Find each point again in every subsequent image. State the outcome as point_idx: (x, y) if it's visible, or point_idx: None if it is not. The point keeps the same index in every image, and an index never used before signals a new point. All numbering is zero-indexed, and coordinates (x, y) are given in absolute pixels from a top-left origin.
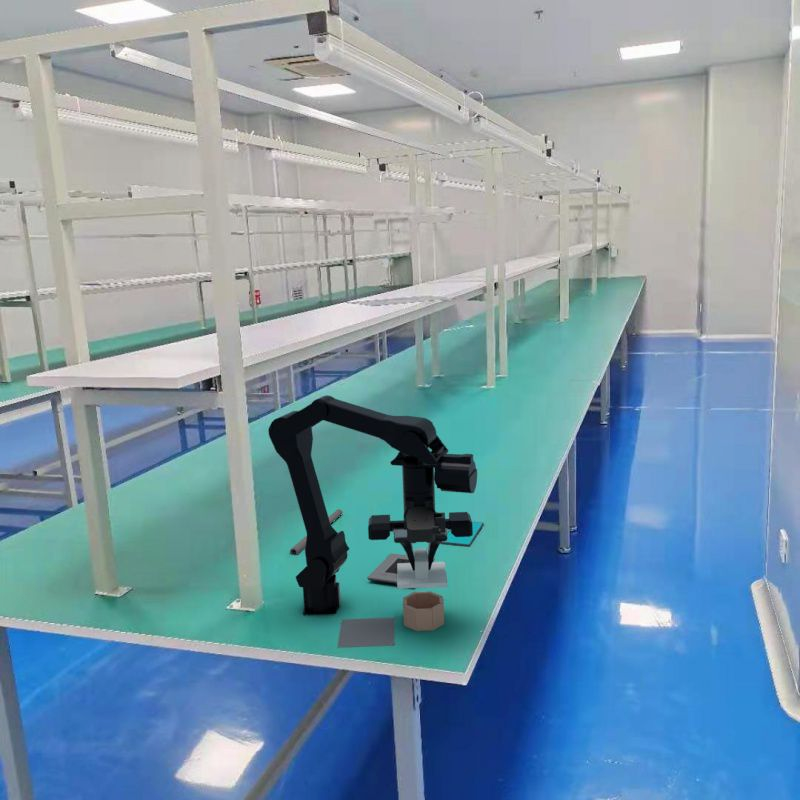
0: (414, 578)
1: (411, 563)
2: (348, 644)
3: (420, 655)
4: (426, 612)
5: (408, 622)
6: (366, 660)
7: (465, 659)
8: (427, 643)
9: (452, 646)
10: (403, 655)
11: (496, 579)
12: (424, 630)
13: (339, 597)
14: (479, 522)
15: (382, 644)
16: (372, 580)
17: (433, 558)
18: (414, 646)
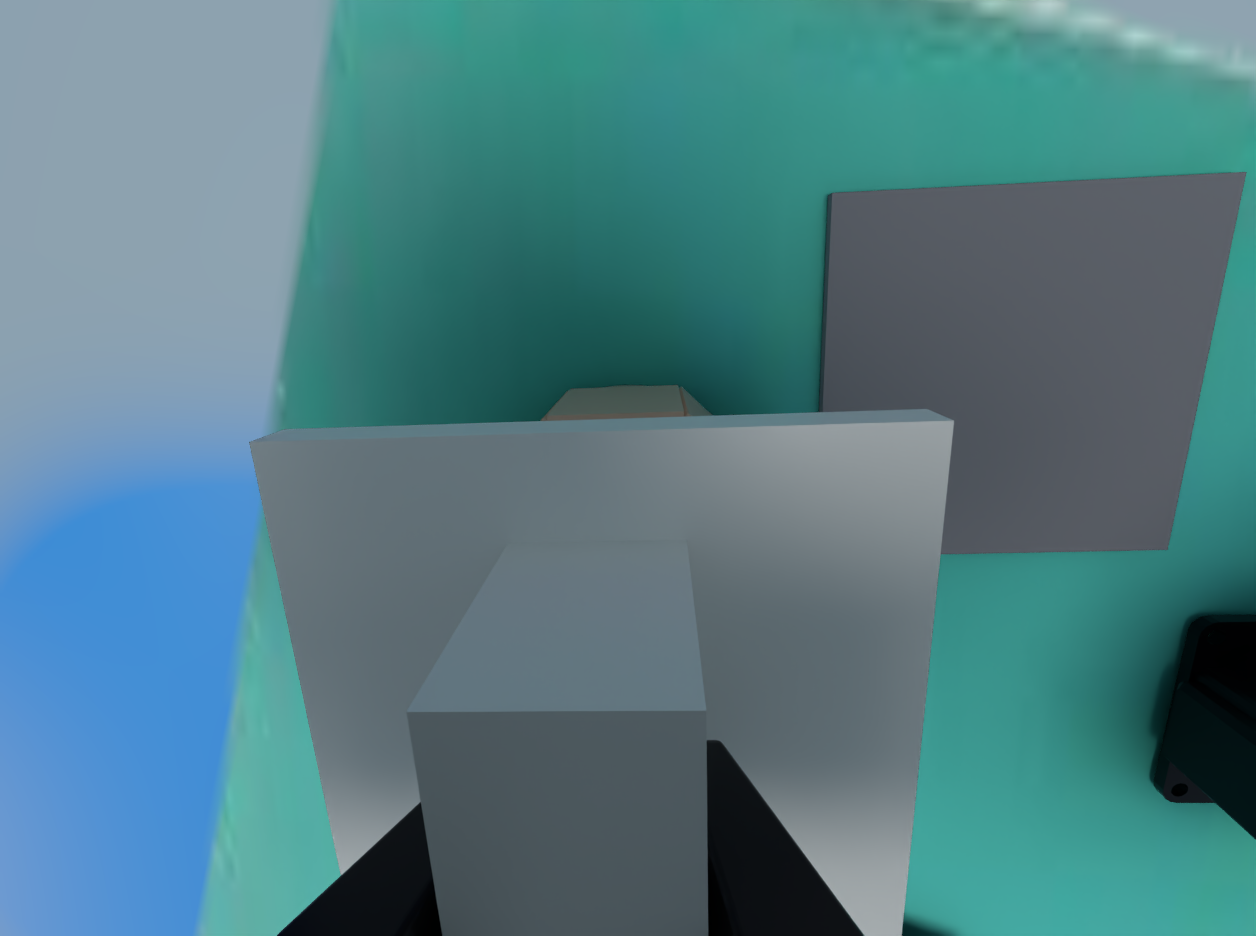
0: (700, 583)
1: (755, 814)
2: (1159, 210)
3: (650, 82)
4: (595, 411)
5: None
6: (1034, 14)
7: (346, 21)
8: (604, 245)
9: (441, 201)
10: (767, 84)
11: (243, 929)
12: (624, 387)
13: (1210, 751)
14: None
15: (913, 207)
16: None
17: (346, 872)
18: (690, 208)
